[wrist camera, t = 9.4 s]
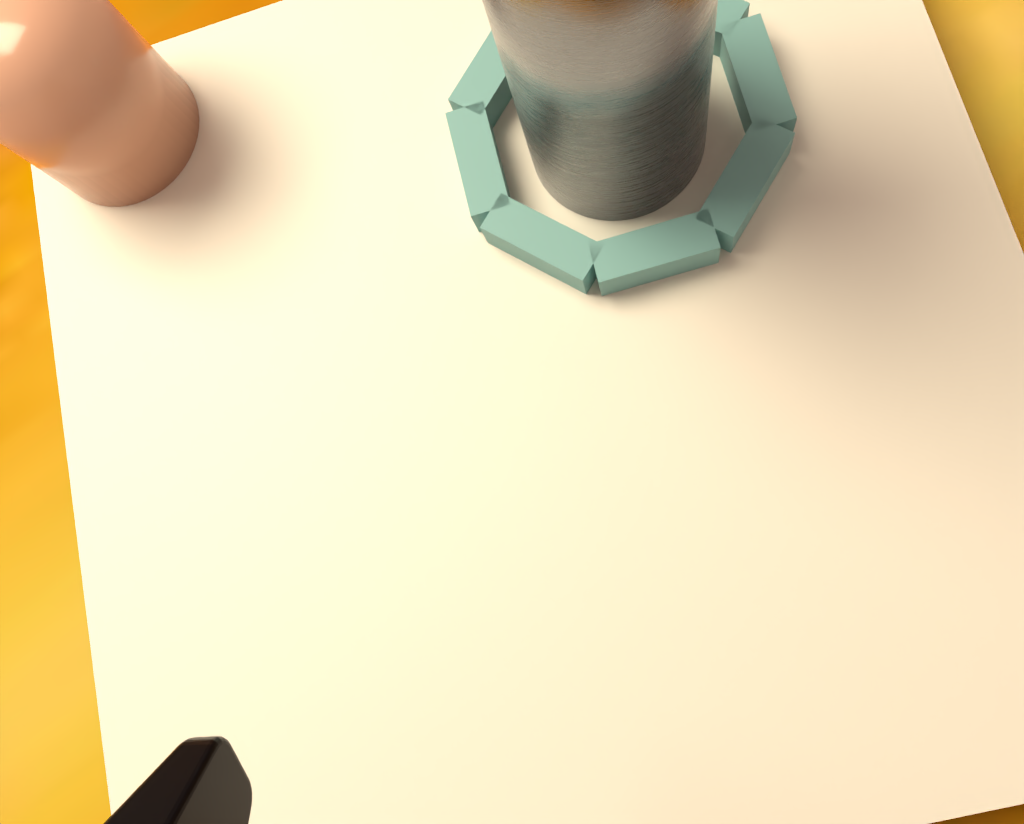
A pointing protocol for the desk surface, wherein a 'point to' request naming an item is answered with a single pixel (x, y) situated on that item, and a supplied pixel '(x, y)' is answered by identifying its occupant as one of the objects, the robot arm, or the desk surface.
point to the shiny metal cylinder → (609, 96)
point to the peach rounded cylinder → (92, 100)
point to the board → (554, 437)
